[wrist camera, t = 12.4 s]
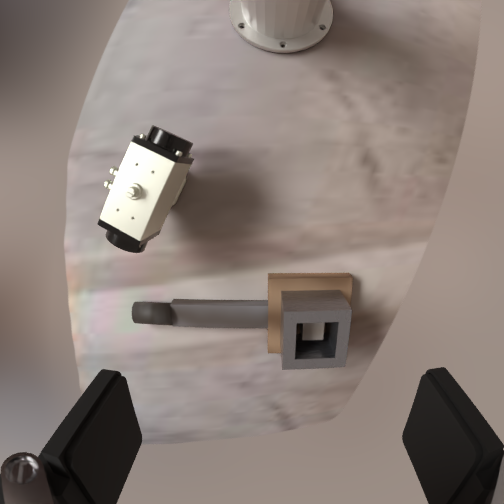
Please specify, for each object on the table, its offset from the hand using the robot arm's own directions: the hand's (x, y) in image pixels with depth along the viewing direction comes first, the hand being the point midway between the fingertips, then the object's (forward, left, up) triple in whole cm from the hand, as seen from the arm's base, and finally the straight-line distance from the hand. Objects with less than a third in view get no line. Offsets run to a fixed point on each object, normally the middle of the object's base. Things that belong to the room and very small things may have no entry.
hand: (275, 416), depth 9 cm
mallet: (+10, -3, -30) cm, 32 cm away
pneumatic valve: (-6, -12, -31) cm, 33 cm away
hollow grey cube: (+10, +5, -28) cm, 31 cm away
